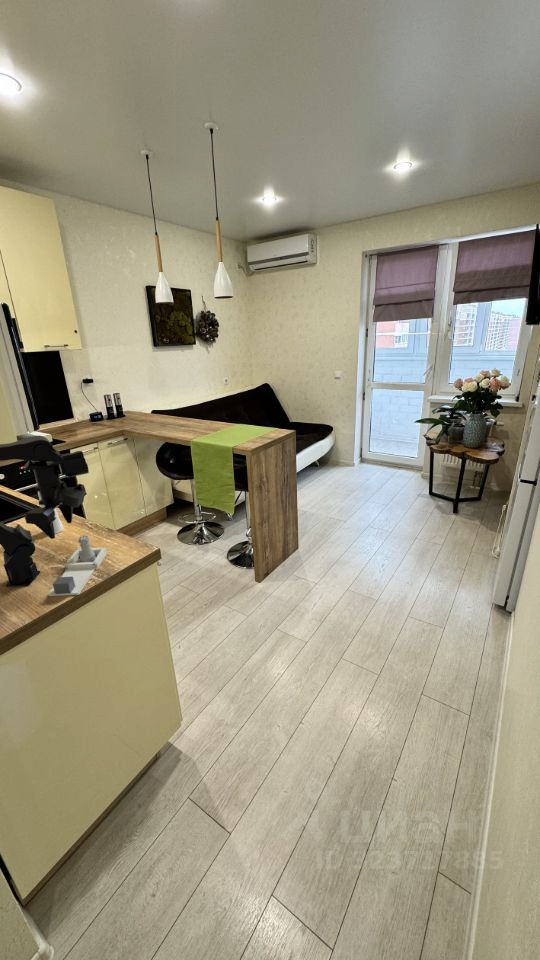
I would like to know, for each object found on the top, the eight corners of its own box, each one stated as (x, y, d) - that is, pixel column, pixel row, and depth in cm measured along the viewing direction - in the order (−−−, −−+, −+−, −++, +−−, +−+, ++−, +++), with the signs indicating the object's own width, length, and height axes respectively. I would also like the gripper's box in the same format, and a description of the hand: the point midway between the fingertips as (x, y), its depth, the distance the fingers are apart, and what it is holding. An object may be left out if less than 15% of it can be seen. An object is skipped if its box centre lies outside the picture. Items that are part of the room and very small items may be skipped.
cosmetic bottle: (44, 536, 131) (28, 478, 123) (45, 529, 136) (29, 472, 128) (63, 532, 134) (49, 474, 125) (63, 525, 139) (49, 469, 130)
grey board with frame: (46, 596, 101) (42, 584, 99) (78, 554, 120) (76, 544, 118) (80, 594, 101) (77, 582, 100) (107, 552, 120) (104, 542, 119)
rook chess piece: (77, 561, 116) (72, 538, 113) (90, 554, 120) (85, 532, 117) (86, 565, 114) (81, 542, 111) (99, 558, 118) (94, 535, 115)
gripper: (59, 494, 96) (72, 547, 101) (92, 469, 113) (102, 515, 119) (16, 495, 96) (32, 547, 102) (56, 469, 113) (67, 516, 119)
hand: (61, 530), depth 110 cm, fingers open, 9 cm apart
